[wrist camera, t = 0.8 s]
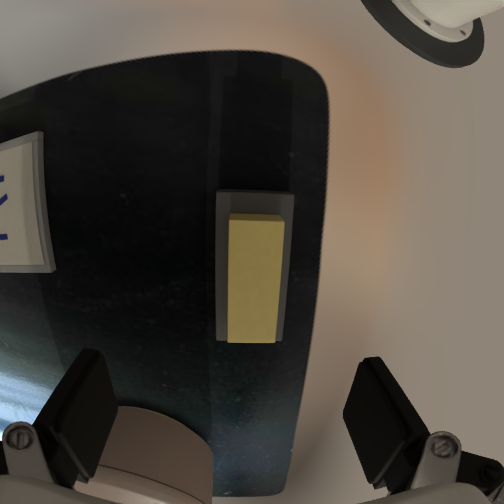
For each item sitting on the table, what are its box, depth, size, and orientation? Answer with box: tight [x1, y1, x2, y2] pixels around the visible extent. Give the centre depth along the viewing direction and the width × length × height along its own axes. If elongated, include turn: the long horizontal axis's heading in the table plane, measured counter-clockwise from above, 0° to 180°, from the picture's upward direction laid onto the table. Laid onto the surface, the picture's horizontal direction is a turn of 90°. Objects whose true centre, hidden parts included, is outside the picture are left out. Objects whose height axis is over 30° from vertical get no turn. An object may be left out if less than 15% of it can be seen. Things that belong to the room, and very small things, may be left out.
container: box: [74, 406, 214, 504], centre depth 25 cm, size 18×18×12 cm
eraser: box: [215, 189, 294, 343], centre depth 22 cm, size 12×6×5 cm, turn 178°
